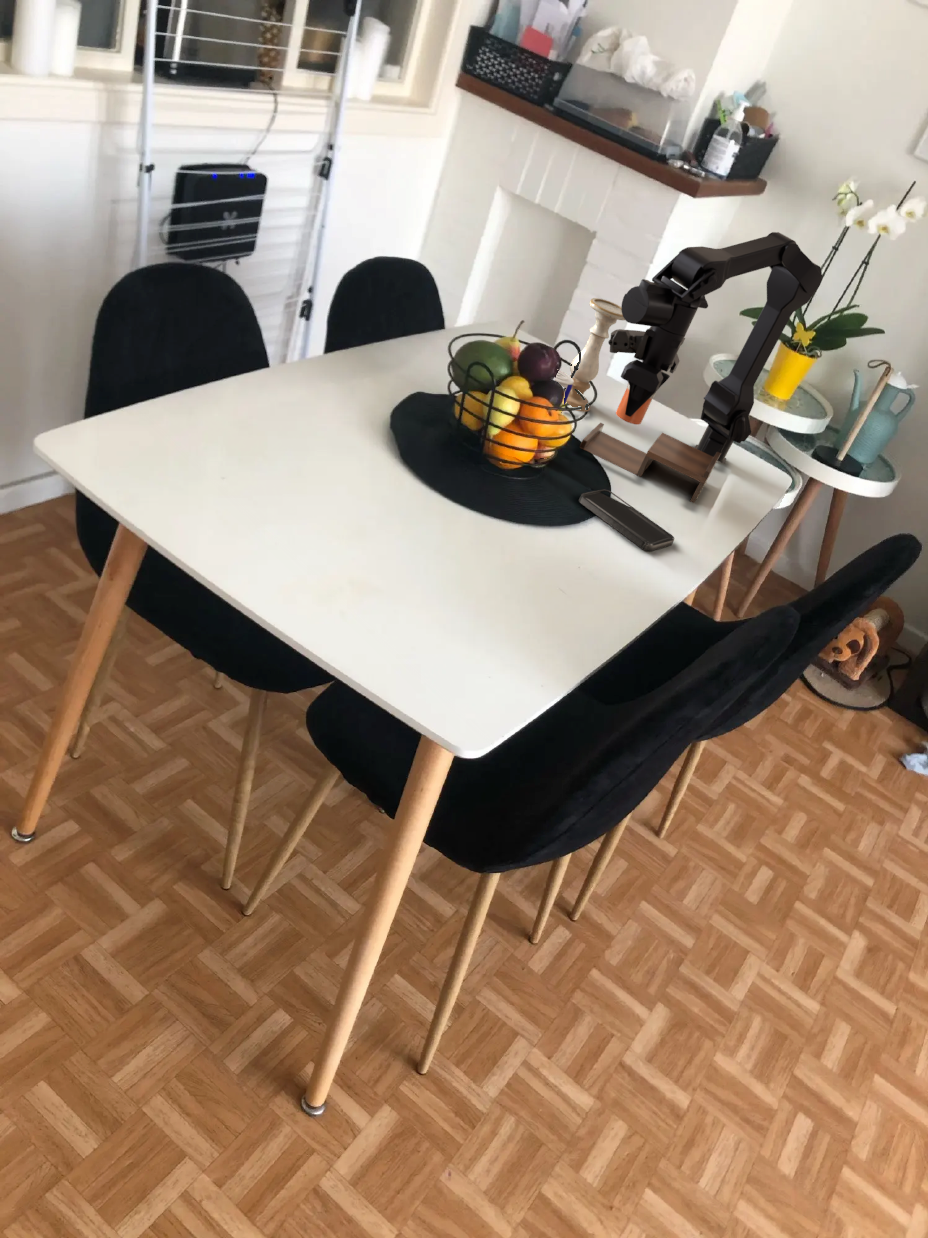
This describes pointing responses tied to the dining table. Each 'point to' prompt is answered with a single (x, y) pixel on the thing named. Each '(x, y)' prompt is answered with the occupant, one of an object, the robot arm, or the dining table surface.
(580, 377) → the candle holder
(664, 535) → the phone
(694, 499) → the step rack
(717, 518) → the dining table surface
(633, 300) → the robot arm
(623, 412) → the spice jar
